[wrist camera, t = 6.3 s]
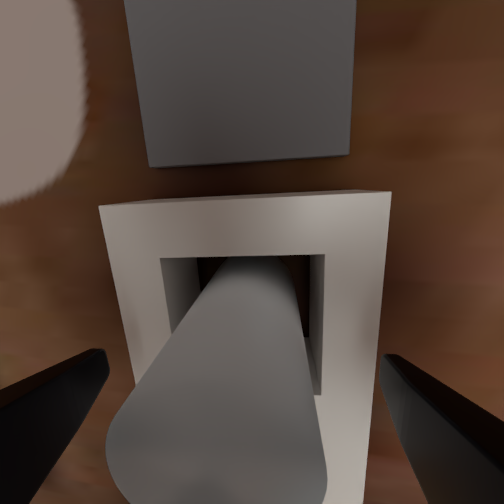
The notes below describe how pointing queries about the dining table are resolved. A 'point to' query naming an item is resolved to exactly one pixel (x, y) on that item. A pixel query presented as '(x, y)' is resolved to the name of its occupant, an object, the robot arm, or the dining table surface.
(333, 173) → the dining table surface
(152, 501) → the cylinder
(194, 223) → the white slotted block
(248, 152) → the mat
